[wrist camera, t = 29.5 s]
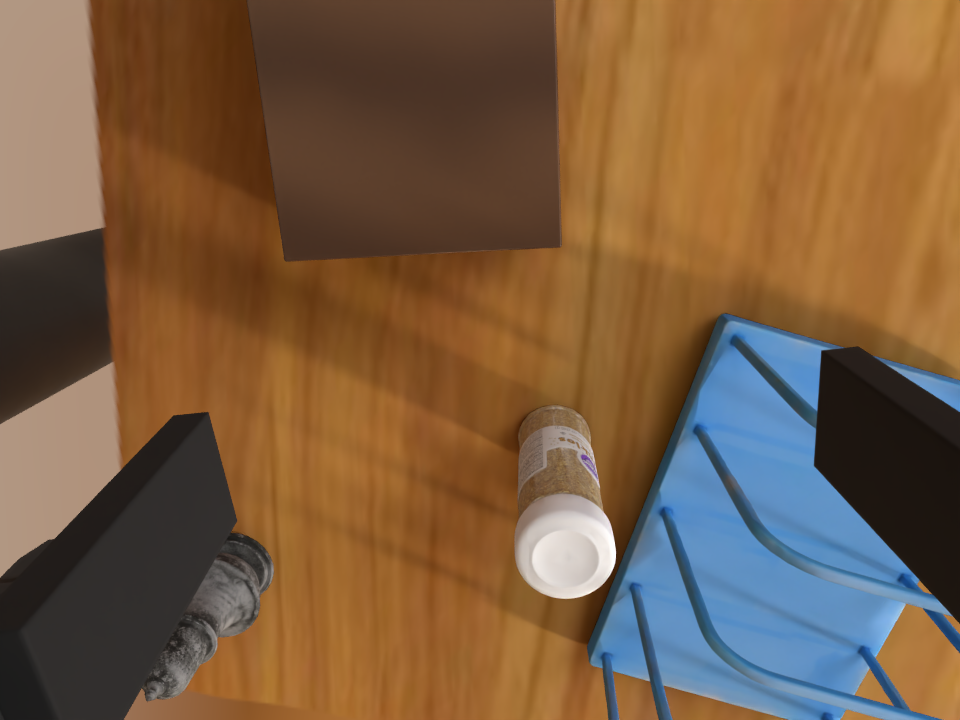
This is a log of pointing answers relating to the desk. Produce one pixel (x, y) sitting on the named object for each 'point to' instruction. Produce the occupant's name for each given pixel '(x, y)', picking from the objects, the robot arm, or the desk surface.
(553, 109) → the cabinet
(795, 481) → the file sorter
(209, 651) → the grey chess piece
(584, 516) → the sprinkles bottle
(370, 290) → the desk surface
